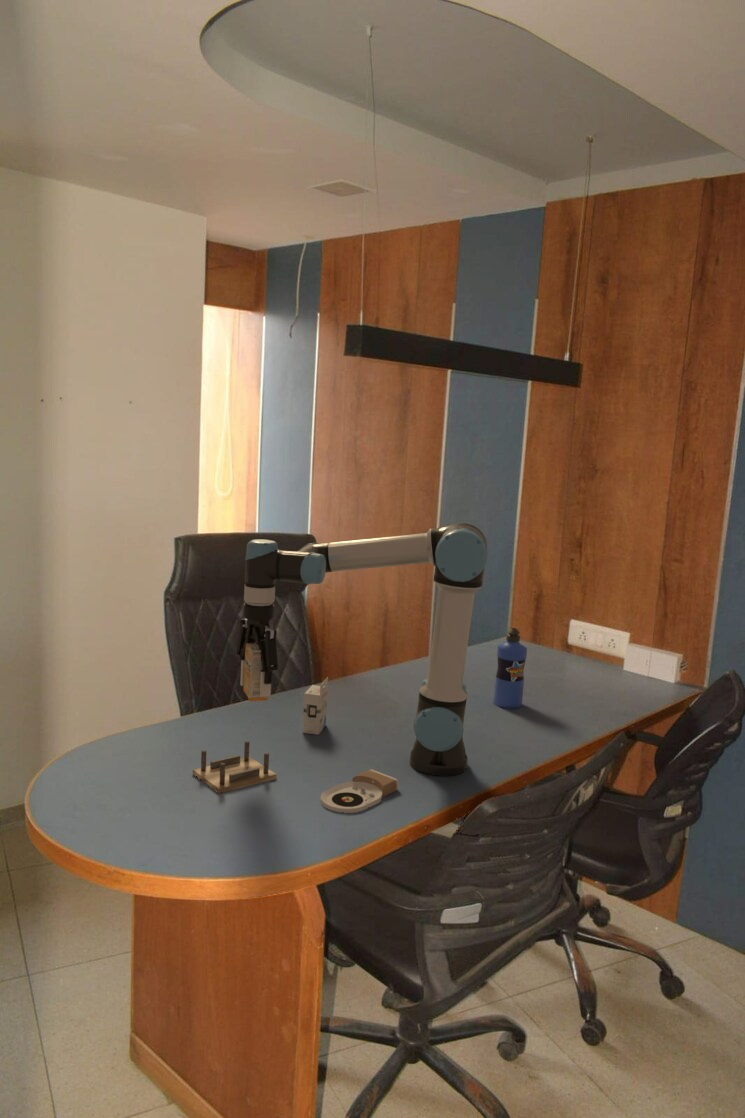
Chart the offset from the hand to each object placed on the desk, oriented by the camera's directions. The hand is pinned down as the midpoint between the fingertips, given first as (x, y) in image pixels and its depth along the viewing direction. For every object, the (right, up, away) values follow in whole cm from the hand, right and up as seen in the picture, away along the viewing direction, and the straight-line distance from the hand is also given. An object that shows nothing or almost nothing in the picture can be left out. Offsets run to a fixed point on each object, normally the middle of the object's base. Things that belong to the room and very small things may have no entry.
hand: (255, 690), depth 223 cm
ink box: (+13, -16, +31) cm, 38 cm away
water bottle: (+73, -14, +64) cm, 98 cm away
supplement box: (0, -2, 0) cm, 2 cm away
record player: (+26, -24, -11) cm, 37 cm away
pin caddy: (-5, -21, -4) cm, 22 cm away
